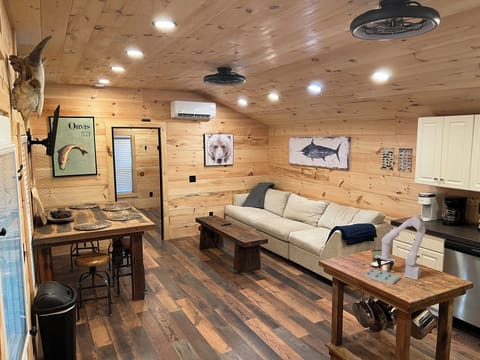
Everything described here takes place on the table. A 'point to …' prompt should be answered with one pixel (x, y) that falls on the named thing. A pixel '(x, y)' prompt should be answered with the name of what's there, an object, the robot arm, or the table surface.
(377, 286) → the table surface
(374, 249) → the food container
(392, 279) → the grey compartment tray
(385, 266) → the egg
